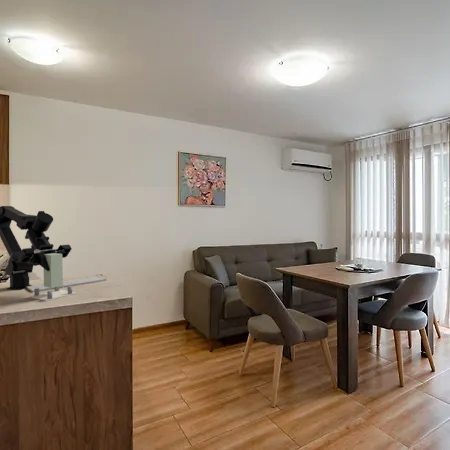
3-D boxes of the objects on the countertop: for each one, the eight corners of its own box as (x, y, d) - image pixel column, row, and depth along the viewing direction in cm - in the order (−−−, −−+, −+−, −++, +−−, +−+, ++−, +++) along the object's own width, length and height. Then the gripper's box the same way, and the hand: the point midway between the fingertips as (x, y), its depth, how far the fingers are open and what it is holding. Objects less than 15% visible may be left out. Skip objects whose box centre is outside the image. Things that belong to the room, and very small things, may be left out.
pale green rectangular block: (43, 286, 118) (43, 254, 118) (55, 283, 122) (54, 253, 122) (51, 287, 116) (50, 255, 115) (62, 285, 120) (62, 254, 119)
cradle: (30, 297, 116) (30, 289, 116) (60, 290, 127) (60, 283, 127) (45, 301, 111) (45, 293, 111) (75, 293, 122) (75, 286, 122)
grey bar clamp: (24, 288, 132) (32, 294, 124) (24, 282, 132) (32, 287, 124) (96, 278, 154) (106, 282, 146) (96, 272, 154) (106, 276, 146)
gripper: (53, 250, 134) (68, 278, 129) (5, 255, 118) (21, 287, 113) (63, 233, 130) (80, 261, 125) (16, 236, 114) (33, 268, 109)
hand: (55, 269), depth 118 cm, fingers closed on pale green rectangular block, 4 cm apart
